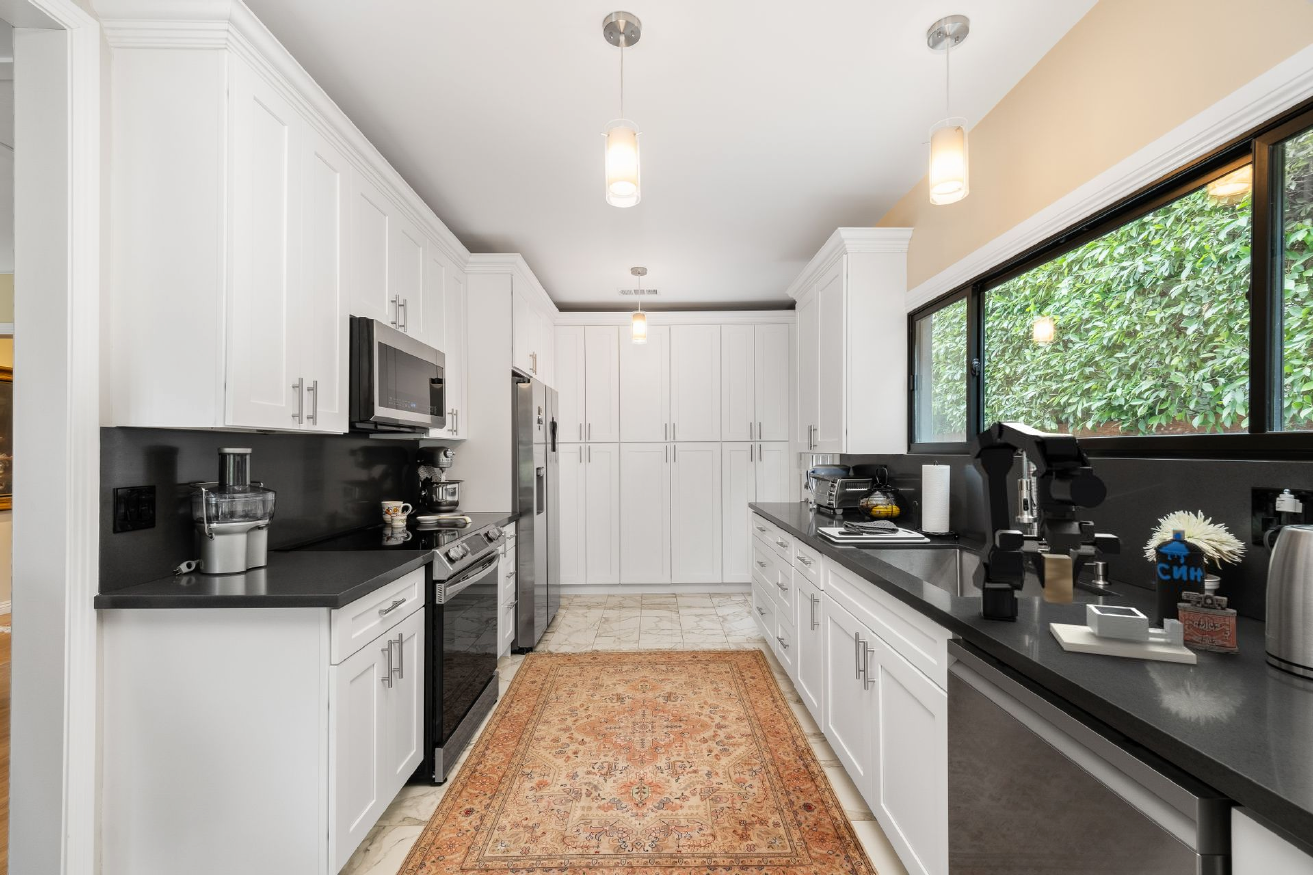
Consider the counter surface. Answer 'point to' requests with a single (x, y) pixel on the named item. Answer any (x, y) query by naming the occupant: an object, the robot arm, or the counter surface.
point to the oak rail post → (1057, 578)
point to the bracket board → (1118, 645)
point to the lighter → (1208, 623)
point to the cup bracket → (1131, 625)
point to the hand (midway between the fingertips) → (1056, 588)
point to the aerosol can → (1177, 574)
